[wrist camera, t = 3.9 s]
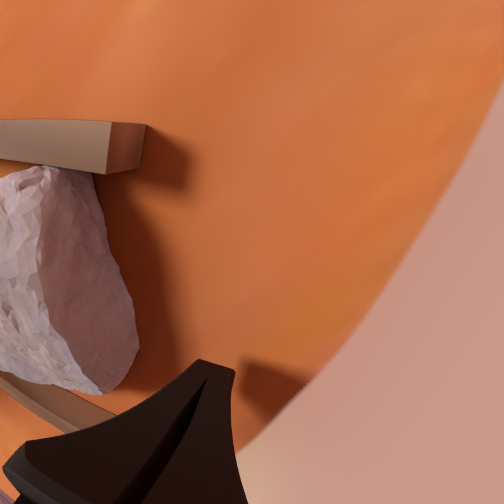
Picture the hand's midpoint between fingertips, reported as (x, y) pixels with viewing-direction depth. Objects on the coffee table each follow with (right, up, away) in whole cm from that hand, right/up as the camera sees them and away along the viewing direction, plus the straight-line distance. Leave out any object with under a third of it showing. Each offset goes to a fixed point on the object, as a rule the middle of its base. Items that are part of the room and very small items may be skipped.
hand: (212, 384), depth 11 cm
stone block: (-9, +3, +3) cm, 10 cm away
